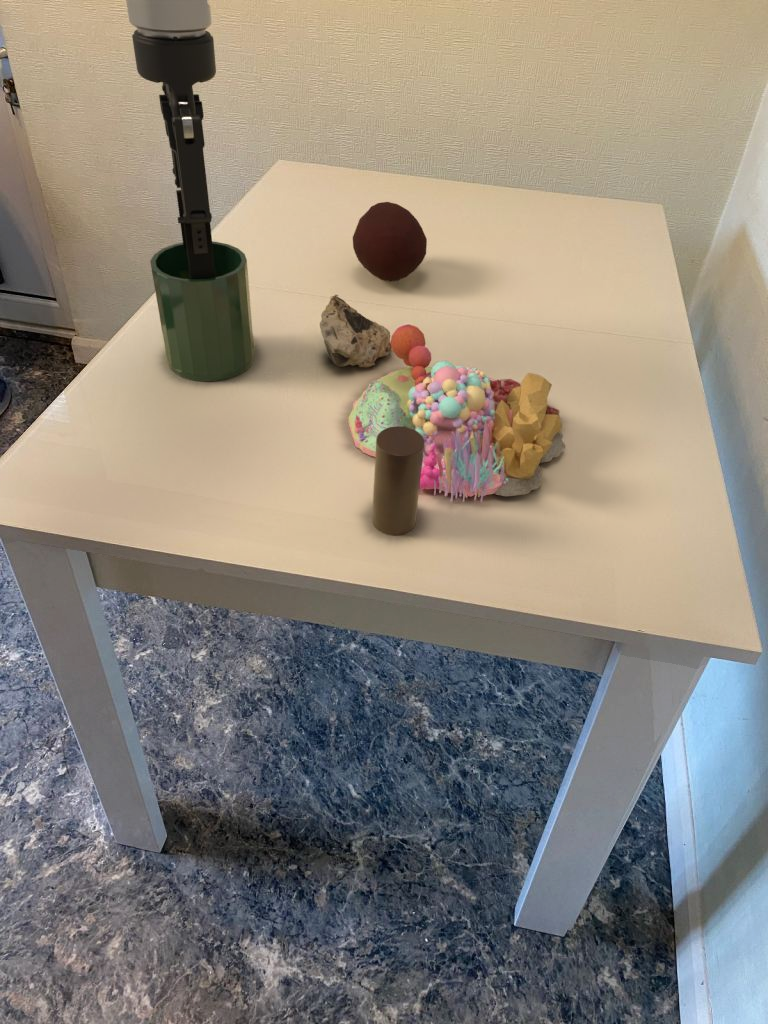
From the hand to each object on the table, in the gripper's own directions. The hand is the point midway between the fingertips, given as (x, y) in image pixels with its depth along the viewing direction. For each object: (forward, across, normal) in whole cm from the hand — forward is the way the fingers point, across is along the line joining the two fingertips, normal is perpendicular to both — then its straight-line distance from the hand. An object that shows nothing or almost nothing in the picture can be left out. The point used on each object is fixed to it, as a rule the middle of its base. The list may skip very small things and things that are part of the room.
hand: (198, 261), depth 85 cm
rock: (+13, -4, -18) cm, 23 cm away
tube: (+13, 0, 0) cm, 13 cm away
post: (+13, -34, -14) cm, 39 cm away
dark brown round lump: (+13, +18, -29) cm, 37 cm away
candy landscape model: (+13, -22, -25) cm, 36 cm away
